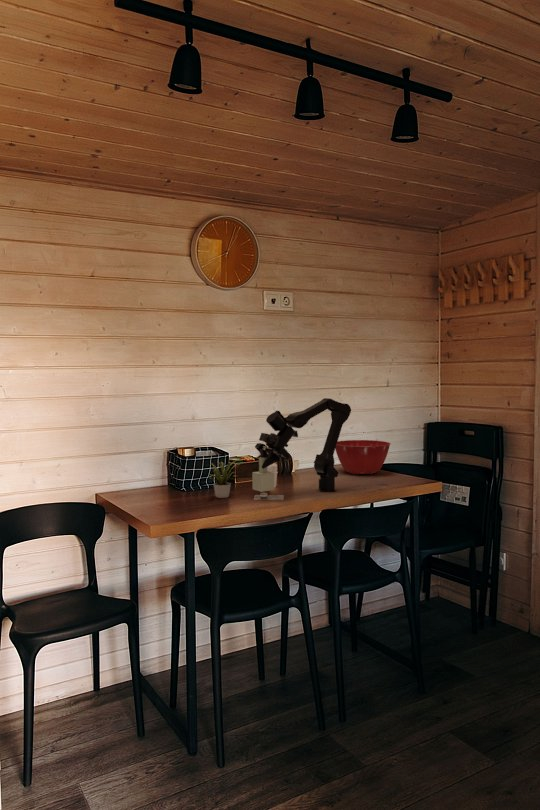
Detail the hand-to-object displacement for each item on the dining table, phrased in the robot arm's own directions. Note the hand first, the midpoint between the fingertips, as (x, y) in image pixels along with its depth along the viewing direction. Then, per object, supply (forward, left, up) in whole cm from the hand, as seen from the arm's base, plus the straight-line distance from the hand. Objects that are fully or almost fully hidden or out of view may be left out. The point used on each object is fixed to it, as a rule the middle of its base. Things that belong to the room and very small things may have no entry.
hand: (260, 467), depth 258 cm
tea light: (-1, 0, -12) cm, 13 cm away
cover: (-1, -1, -9) cm, 9 cm away
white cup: (-2, -27, -14) cm, 31 cm away
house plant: (+15, -3, -14) cm, 20 cm away
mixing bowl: (-48, -64, -14) cm, 82 cm away
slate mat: (-3, -1, -13) cm, 14 cm away
